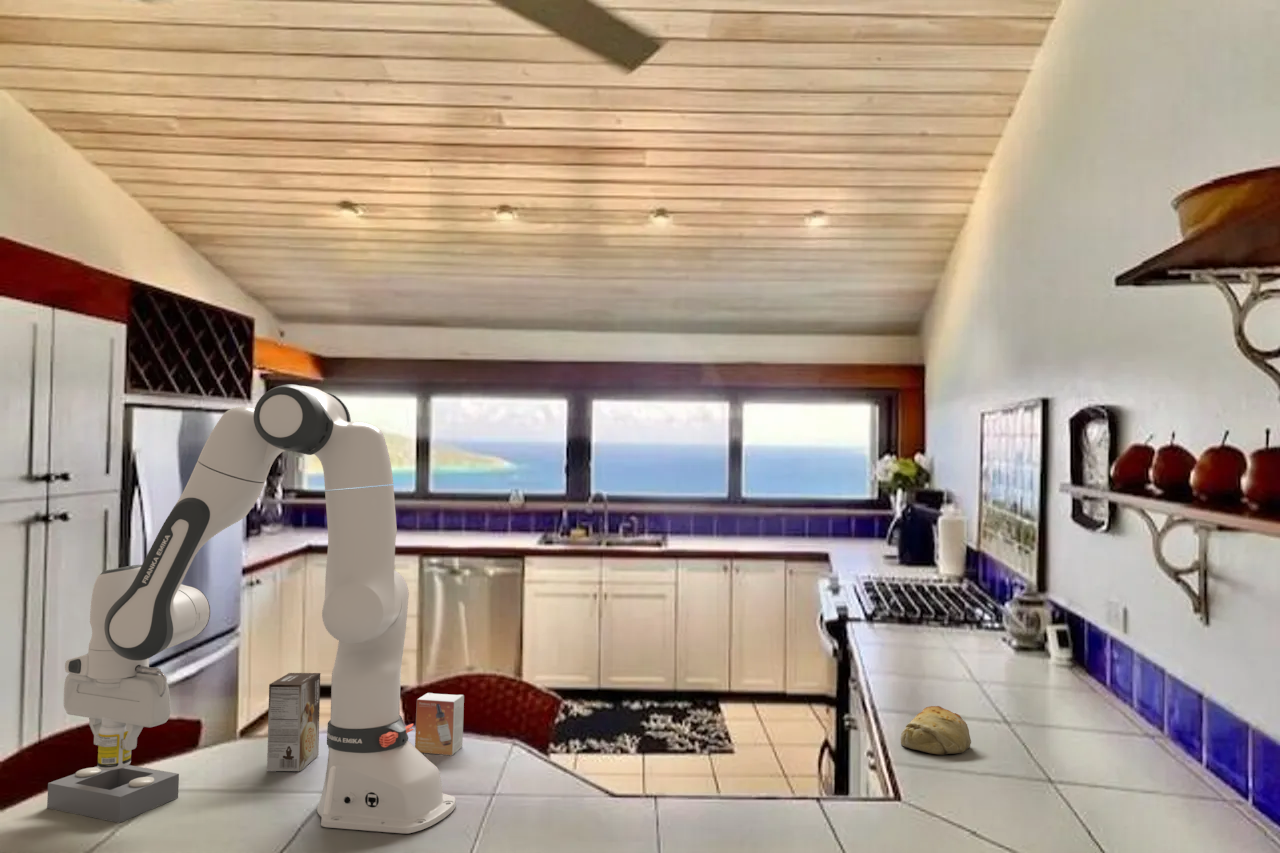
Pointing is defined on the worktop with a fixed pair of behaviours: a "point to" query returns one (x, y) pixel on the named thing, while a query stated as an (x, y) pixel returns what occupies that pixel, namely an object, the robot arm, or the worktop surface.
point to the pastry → (937, 732)
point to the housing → (113, 792)
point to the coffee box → (293, 721)
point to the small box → (439, 723)
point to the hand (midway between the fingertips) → (115, 746)
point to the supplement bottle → (112, 746)
